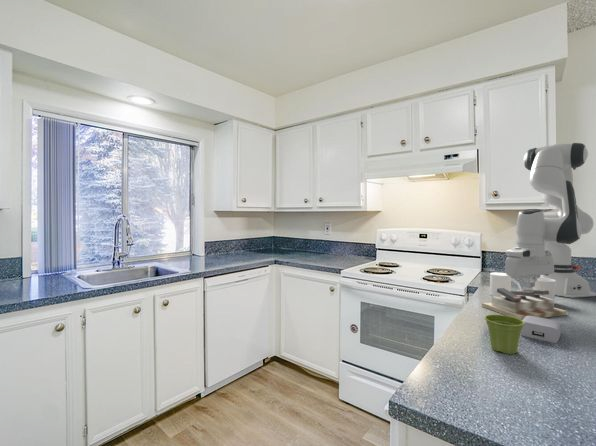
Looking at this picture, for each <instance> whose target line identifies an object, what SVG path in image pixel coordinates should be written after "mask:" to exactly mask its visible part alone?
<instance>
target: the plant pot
mask: <svg viewBox="0 0 596 446" xmlns="http://www.w3.org/2000/svg"><path fill="white" fill-rule="evenodd" d="M484 320H485V322H486V325H487V327H488V334H489V341H490V347H491V349H492V350H494V351H496V352H501V353H503V354H509V355H512V354H513V355H514V354H517V352H518V349H519V342H520V335H521V334H520V332H521V330H522V326H523V325H524V322H523V321H522V320H520V319H517V318H514V317H510V316H507V315H504V314H487V315H485V316H484Z"/></svg>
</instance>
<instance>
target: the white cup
mask: <svg viewBox="0 0 596 446" xmlns="http://www.w3.org/2000/svg"><path fill="white" fill-rule="evenodd" d="M555 288H556V280H553V279H548V278H540V277H538V279H537V280H536V282H535V287H532V290H548V291H549V294H547V295H540V296H542V297H546V298H550V299H554V300H555V296H556V295H555ZM535 295H539V294H535Z"/></svg>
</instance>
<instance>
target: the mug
mask: <svg viewBox="0 0 596 446" xmlns="http://www.w3.org/2000/svg"><path fill="white" fill-rule="evenodd" d="M512 283H514V284H515V285H516V286H517V288H518V289H516V291H522V287H521V284H520V283H519V282H518V281H517V280H516V279H515V278H514V277H513V276H508V275H507V274H506V272H495V271H494V272H490V273H489V295H490V296H491V297H494V296H503V295H501V294H500V293H498V292H497V289H498V288H504V289H506V290H508V291H512Z"/></svg>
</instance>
